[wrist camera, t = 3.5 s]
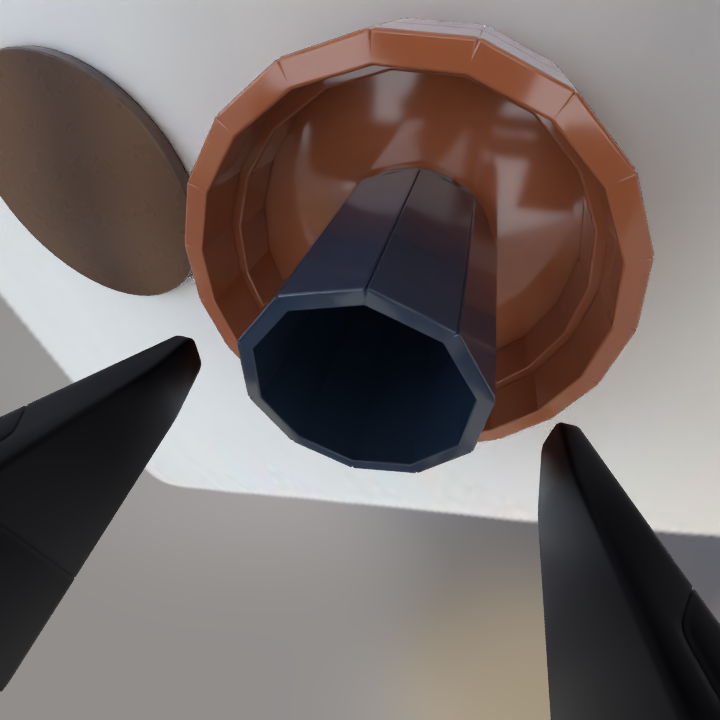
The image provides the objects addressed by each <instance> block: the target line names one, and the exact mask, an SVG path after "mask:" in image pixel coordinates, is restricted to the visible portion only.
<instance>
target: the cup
mask: <svg viewBox="0 0 720 720" xmlns="http://www.w3.org/2000/svg"><path fill="white" fill-rule="evenodd" d="M496 309H497V245H496V243H495V240H494V238H493V236H492V232H491V227H490V224H489V221H488V219H487V216H486V214H485V212H484V210H483V209H482V207H481V205H480V204H479V203H478V200H477V198H476V197H474V195H473V194H471V193H470V192H469V191H468V190H467V189H466V188H464V187H463V186H462V185H460V184H459V183H458V182H456V181H454V180H453V179H451V178H449V177H447V176H445V175H442V174H440V173H437V172H434V171H430V170H425V169H420V168H399V169H393V170H389V171H385V172H382V173H379V174H377V175H374V176H372V177H369V178H364V179H363V180H361V181H360V182H359V183H358V184H357V186H356V187H355V188H354V189H353V190H352V192H351V193H350V194H349V195H348V196H347V198H346V199H345V200H344V202H343V203H342V204H341V205H340V206H339V208H338V209H337V210H336V211H335V213H334V214H333V215H332V216H331V218H330V219H329V220H328V221H327V223H326V224H325V225H324V227H323V228H322V229H321V231H320V232H319V233H318V235H317V236H316V237H315V239H314V240H313V241H312V243H311V244H310V245H309V247H308V248H307V249H306V251H305V252H304V253H303V255H302V256H301V257H300V259H299V260H298V261H297V263H296V264H295V265H294V267H293V268H292V269H291V271H290V272H289V273H288V274H287V276H286V277H285V278H284V280H283V281H282V282H281V284H280V285H279V286H278V288H277V289H276V290H275V292H274V293H273V294H272V296H271V297H270V298H269V300H268V301H267V302H266V304H265V305H264V306H263V308H262V309H261V310H260V312H259V313H258V314H257V316H256V317H255V318H254V320H253V321H252V322H251V324H250V325H249V326H248V328H247V329H246V330H245V332H244V333H243V334H242V336H241V337H240V338H239V339H238V343H237V347H238V351H239V356H240V360H241V365H242V370H243V374H244V379H245V383H246V388H247V392H248V396H250V399H251V400H252V401H253V402H254V403H255V404H256V405H257V406H258V407H259V408H260V409H261V410H262V411H263V412H264V413H265V414H266V415H267V416H268V417H269V418H270V419H271V420H272V421H273V422H274V423H275V424H276V425H277V426H278V427H279V428H280V429H281V430H282V431H283V432H284V433H285V434H286V435H287V436H288V437H289V438H290V439H291V440H294V442H296V443H298V444H300V445H302V446H305V447H307V448H309V449H311V450H314V451H316V452H318V453H320V454H323V455H325V456H327V457H329V458H332V459H334V460H336V461H338V462H341V463H343V464H345V465H347V466H349V467H352V466H353V467H354V468H361V469H373V470H385V471H397V472H409V473H416V472H421V471H424V470H427V469H429V468H432V467H434V466H437V465H440V464H442V463H445V462H447V461H450V460H453V459H455V458H458V457H460V456H463V455H466V454H468V453H471V451H473V450H474V448H475V446H476V444H477V441H478V439H479V437H480V435H481V433H482V430H483V428H484V426H485V424H486V422H487V419H488V417H489V415H490V413H491V411H492V408H493V406H494V404H495V394H496Z"/></svg>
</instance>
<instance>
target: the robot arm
mask: <svg viewBox="0 0 720 720" xmlns="http://www.w3.org/2000/svg"><path fill="white" fill-rule="evenodd" d="M200 367H201V360H200V357H199V354H198V350H197V347H196V344H195V342H194V340H193V339H191V338H188V337H183V336H174V337H172V338H170V339H168V340H166V341H163V342H161V343H159V344H157V345H155V346H153V347H151V348H148V349H146V350H144V351H142V352H140V353H138V354H135V355H133V356H131V357H129V358H127V359H125V360H123V361H120V362H118V363H116V364H114V365H112V366H110V367H107V368H105V369H103V370H101V371H99V372H97V373H95V374H92V375H90V376H88V377H86V378H84V379H82V380H79V381H77V382H75V383H73V384H71V385H69V386H66V387H65V388H62V389H60V390H58V391H56V392H54V393H51V394H49V395H47V396H45V397H43V398H41V399H39V400H36V401H34V402H32V403H30V404H28V406H23V407H21V408H19V409H17V410H15V411H12V412H10V413H8V414H6V415H4V416H1V417H0V691H2V690H3V689H4V688H5V687H6V685H7V684H8V683H9V681H10V680H11V678H12V677H13V675H14V673H15V672H16V670H17V669H18V667H19V666H20V664H21V662H22V661H23V659H24V657H25V656H26V654H27V653H28V651H29V650H30V648H31V647H32V645H33V643H34V642H35V640H36V638H37V637H38V636H39V634H40V632H41V631H42V629H43V628H44V626H45V624H46V623H47V621H48V620H49V618H50V616H51V615H52V614H53V612H54V610H55V608H56V607H57V606H58V604H59V602H60V601H61V599H62V598H63V596H64V595H65V593H66V591H67V590H68V588H69V587H70V585H71V584H72V582H73V580H74V577H76V575H77V574H78V572H79V571H80V569H81V567H82V566H83V564H84V563H85V561H86V559H87V558H88V556H89V555H90V553H91V551H92V550H93V548H94V547H95V545H96V544H97V542H98V540H99V539H100V537H101V536H102V534H103V533H104V531H105V530H106V528H107V526H108V525H109V523H110V522H111V520H112V518H113V517H114V515H115V514H116V512H117V511H118V509H119V507H120V506H121V504H122V503H123V501H124V500H125V498H126V496H127V495H128V493H129V492H130V490H131V489H132V487H133V485H134V484H135V482H136V481H137V479H138V477H139V476H140V474H141V473H142V471H143V470H144V468H145V466H146V465H147V463H148V462H149V460H150V459H151V457H152V455H153V454H154V452H155V451H156V449H157V448H158V446H159V444H160V443H161V441H162V440H163V438H164V436H165V435H166V433H167V432H168V430H169V429H170V427H171V425H172V424H173V422H174V420H175V419H176V417H177V415H178V413H179V411H180V409H181V407H182V405H183V403H184V401H185V399H186V397H187V395H188V393H189V391H190V389H191V387H192V385H193V383H194V381H195V379H196V377H197V375H198V373H199V370H200ZM538 527H539V541H540V556H541V557H540V558H541V573H542V589H543V605H544V620H545V635H546V651H547V667H548V681H549V682H548V683H549V698H550V712H551V720H720V623H719V622H718V621H717V619H716V618H715V616H714V615H713V614H712V613H711V611H710V610H709V608H708V607H707V606H706V604H705V603H704V601H703V600H702V598H701V597H700V596H699V594H698V593H697V592H696V591H695V590H693V589H692V585H691V584H690V582H689V581H688V579H687V578H686V577H685V575H684V574H683V572H682V571H681V569H680V568H679V567H678V565H677V564H676V562H675V561H674V560H673V558H672V557H671V555H670V554H669V553H668V551H667V550H666V548H665V547H664V546H663V544H662V543H661V541H660V540H659V539H658V537H657V536H656V534H655V533H654V531H653V530H652V529H651V527H650V526H649V524H648V523H647V522H646V520H645V519H644V517H643V516H642V515H641V513H640V512H639V510H638V509H637V508H636V506H635V505H634V503H633V502H632V501H631V499H630V498H629V496H628V495H627V494H626V492H625V491H624V489H623V488H622V487H621V485H620V484H619V482H618V481H617V480H616V478H615V477H614V475H613V474H612V473H611V471H610V470H609V468H608V467H607V466H606V464H605V463H604V461H603V460H602V459H601V457H600V456H599V454H598V453H597V452H596V450H595V449H594V447H593V446H592V445H591V443H590V442H589V440H588V439H587V438H586V436H585V435H584V433H583V432H582V431H581V429H580V428H578V427H577V426H574V425H570V424H566V423H558V424H556V426H555V427H554V428H553V430H552V431H551V433H550V434H549V436H548V437H547V439H546V440H545V442H544V444H543V447H542V452H541V468H540V484H539V501H538Z"/></svg>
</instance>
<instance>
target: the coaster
mask: <svg viewBox="0 0 720 720" xmlns="http://www.w3.org/2000/svg"><path fill="white" fill-rule="evenodd" d="M188 181H189V178H188V175H187V174H186V172H185V170H184V168H183V166H182V164H181V162H180V160H179V158H178V156H177V155H176V153H175V152H174V150H173V148H172V147H171V145H170V144H169V142H168V140H167V139H166V138H165V136H164V135H163V134H162V132H161V131H160V130H159V128H158V127H157V126H156V124H155V123H154V122H153V121H152V120H151V118H150V117H149V116H148V115H147V114H146V113H145V112H144V110H143V109H142V108H141V107H140V106H139V105H138V104H137V103H136V102H135V101H134V100H133V99H132V98H131V97H130V96H129V95H128V94H127V93H126V92H124V91H123V90H122V89H121V88H120V87H118V86H117V85H116V84H115V83H113V82H112V81H111V80H110V79H108V78H107V77H106V76H104V75H103V74H101V73H100V72H98V71H97V70H95V69H94V68H92V67H91V66H89V65H87V64H85V63H83V62H82V61H80V60H78V59H76V58H74V57H72V56H70V55H67V54H64V53H61V52H59V51H56V50H53V49H49V48H44V47H39V46H14V47H7V48H2V49H0V196H1V197H2V199H3V200H4V202H5V203H6V204H7V206H8V207H9V209H10V210H11V211H12V212H13V213H14V215H15V216H16V217H17V218H18V220H19V221H20V222H21V223H22V224H23V225H24V226H25V227H26V228H27V230H28V231H29V232H30V233H31V234H32V235H33V236H34V237H35V238H36V239H37V240H38V241H39V242H40V243H41V244H42V245H43V246H45V247H46V248H47V249H48V250H49V251H50V252H52V253H53V254H54V255H55V256H56V257H58V258H59V259H60V260H62V261H63V262H64V263H66V264H67V265H68V266H70V267H71V268H73V269H74V270H76V271H77V272H79V273H80V274H82V275H84V276H86V277H87V278H89V279H91V280H93V281H95V282H97V283H99V284H101V285H103V286H106V287H108V288H111V289H114V290H116V291H120V292H124V293H127V294H133V295H145V296H150V295H158V294H162V293H165V292H168V291H170V290H172V289H174V288H176V287H177V286H178V285H180V284H181V283H182V282H183V281H184V280H185V279H186V278H187V277H189V275H190V274H191V273H192V269H191V265H190V262H189V258H188V254H187V251H186V247H185V227H186V203H187V183H188Z"/></svg>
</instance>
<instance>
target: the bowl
mask: <svg viewBox="0 0 720 720" xmlns="http://www.w3.org/2000/svg"><path fill="white" fill-rule="evenodd" d="M399 168H420V169H425V170H430V171H434V172H437V173H440V174H442V175H445V176H447V177H449V178H451V179H453V180H454V181H456V182H458V183H459V184H460V185H462V186H463V187H464V188H466V189H467V190H468V191H469V192H470V193H471V194H473V195H474V197H476V198H477V200H478V203H479V204H480V205H481V207H482V209H483V210H484V212H485V214H486V216H487V219H488V221H489V224H490V227H491V232H492V236H493V238H494V240H495V243H496V245H497V309H496V394H495V404H494V406H493V408H492V411H491V413H490V415H489V417H488V419H487V422H486V424H485V426H484V428H483V430H482V433H481V435H480V437H479V439H478V441H477V442H482V441H489V440H496V439H498V438H503V437H506V436H508V435H511V434H513V433H516V432H518V431H521V430H523V429H526V428H529V427H531V426H534V425H536V424H539V423H541V422H544V421H547V420H549V419H550V418H553V417H554V416H556V415H557V414H558V413H560V412H561V411H562V410H564V409H565V408H567V407H568V406H569V405H571V404H572V403H573V402H575V401H576V400H577V399H579V398H580V397H581V396H583V395H584V394H585V393H587V392H588V391H589V390H591V389H592V388H593V387H595V386H596V385H598V383H599V382H600V381H601V380H602V378H603V377H604V375H605V374H606V372H607V371H608V370H609V368H610V367H611V365H612V364H613V362H614V361H615V360H616V358H617V357H618V355H619V354H620V352H621V351H622V350H623V348H624V347H625V345H626V344H627V342H628V341H629V340H630V338H631V337H632V335H633V334H634V332H635V331H636V328H637V327H638V323H639V318H640V314H641V310H642V306H643V301H644V297H645V293H646V288H647V284H648V280H649V275H650V271H651V267H652V262H653V256H654V252H653V247H652V242H651V237H650V232H649V227H648V222H647V217H646V212H645V208H644V203H643V198H642V193H641V188H640V183H639V178H638V173H637V172H636V171H635V168H634V166H633V165H632V164H631V162H630V161H629V160H628V158H627V157H626V155H625V154H624V153H623V151H622V150H621V149H620V147H619V146H618V145H617V143H616V142H615V141H614V139H613V138H612V137H611V135H610V134H609V133H608V131H607V130H606V129H605V127H604V126H603V125H602V123H601V122H600V121H599V119H598V118H597V117H596V115H595V114H594V113H593V111H592V110H591V108H590V107H589V106H588V104H587V103H586V102H585V100H584V99H583V98H582V96H581V95H580V94H579V92H578V91H577V90H576V89H575V87H574V86H573V85H572V83H571V82H570V81H569V80H568V78H567V77H566V76H565V75H564V73H563V72H562V71H561V69H560V68H559V67H558V66H556V64H555V63H553V62H552V61H550V60H548V59H546V58H544V57H543V56H541V55H539V54H537V53H535V52H534V51H532V50H530V49H528V48H526V47H525V46H523V45H521V44H519V43H517V42H516V41H514V40H512V39H510V38H508V37H507V36H505V35H503V34H501V33H499V32H498V31H496V30H494V29H492V28H490V27H489V26H485V27H484V25H483V24H472V23H461V22H449V21H438V20H426V19H415V18H404V19H398V20H394V21H390V22H387V23H383V24H379V25H375V26H371V27H368V28H365V29H362V30H359V31H356V32H353V33H350V34H347V35H344V36H341V37H338V38H335V39H332V40H329V41H326V42H323V43H320V44H317V45H314V46H311V47H308V48H306V49H303V50H300V51H297V52H294V53H291V54H288V55H285V56H282V57H280V58H279V59H278V60H275V61H274V62H273V63H272V64H271V65H270V66H269V67H267V68H266V69H265V70H264V71H263V72H262V73H261V74H260V75H259V76H258V77H257V78H256V79H255V80H254V81H252V82H251V83H250V84H249V85H248V86H247V87H246V88H245V89H244V90H243V91H242V92H241V93H240V94H238V95H237V96H236V97H235V98H234V99H233V100H232V101H231V102H230V103H229V104H228V105H227V106H226V107H225V108H223V109H222V110H221V111H220V112H219V113H218V116H217V117H216V118H215V120H214V122H213V124H212V127H211V129H210V131H209V133H208V136H207V138H206V140H205V143H204V145H203V147H202V150H201V152H200V154H199V156H198V159H197V161H196V163H195V166H194V168H193V170H192V172H191V175H190V177H189V181H188V183H187V203H186V227H185V247H186V251H187V254H188V258H189V262H190V265H191V269H192V272H193V276H194V280H195V283H196V287H197V291H198V294H199V298H200V299H201V302H202V304H203V305H204V307H205V309H206V310H207V312H208V314H209V316H210V317H211V319H212V321H213V322H214V324H215V326H216V327H217V329H218V331H219V333H220V334H221V336H222V338H223V339H224V341H225V343H226V344H227V345H228V347H229V348H230V349H231V350H232V351H233V352H234V353H235V354H236V355H237V356H238V358H239V359H240V356H239V351H238V347H237V343H238V339H239V338H240V337H241V336H242V334H243V333H244V332H245V330H246V329H247V328H248V326H249V325H250V324H251V322H252V321H253V320H254V318H255V317H256V316H257V314H258V313H259V312H260V310H261V309H262V308H263V306H264V305H265V304H266V302H267V301H268V300H269V298H270V297H271V296H272V294H273V293H274V292H275V290H276V289H277V288H278V286H279V285H280V284H281V282H282V281H283V280H284V278H285V277H286V276H287V274H288V273H289V272H290V271H291V269H292V268H293V267H294V265H295V264H296V263H297V261H298V260H299V259H300V257H301V256H302V255H303V253H304V252H305V251H306V249H307V248H308V247H309V245H310V244H311V243H312V241H313V240H314V239H315V237H316V236H317V235H318V233H319V232H320V231H321V229H322V228H323V227H324V225H325V224H326V223H327V221H328V220H329V219H330V218H331V216H332V215H333V214H334V213H335V211H336V210H337V209H338V208H339V206H340V205H341V204H342V203H343V202H344V200H345V199H346V198H347V196H348V195H349V194H350V193H351V192H352V190H353V189H354V188H355V187H356V186H357V184H358V183H359V182H360V181H361V180H363V179H364V178H369V177H372V176H374V175H377V174H379V173H382V172H385V171H389V170H393V169H399Z"/></svg>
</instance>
